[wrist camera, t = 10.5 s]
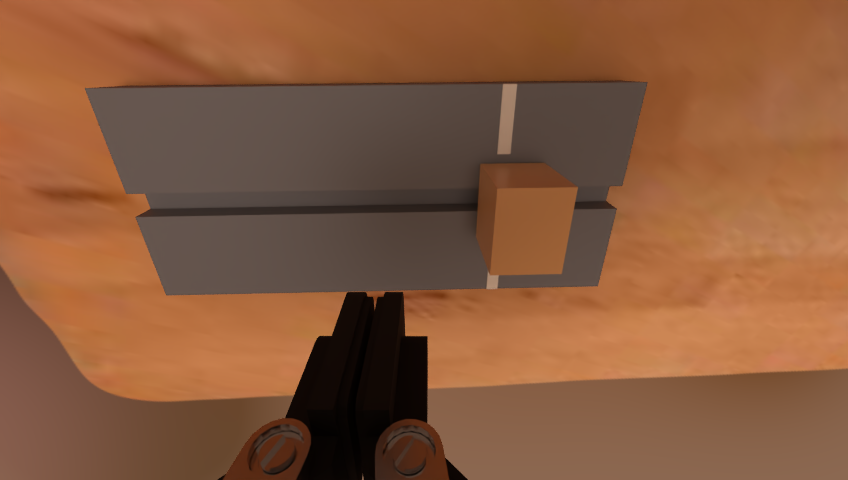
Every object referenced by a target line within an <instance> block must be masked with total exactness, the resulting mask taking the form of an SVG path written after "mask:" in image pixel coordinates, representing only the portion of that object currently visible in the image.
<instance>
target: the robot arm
mask: <svg viewBox="0 0 848 480" xmlns="http://www.w3.org/2000/svg"><path fill="white" fill-rule="evenodd" d="M427 388H428V348H427V336H405V318H404V296H403V292H385V294H384V297H378V298H377V303H376V307H375V310H374V300H373V297H367V293H366V292H348V293H347V294H346V297H345V300H344V303H343V305H342V308H341V311H340V314H339V317H338V320H337V323H336V326H335V329H334V331H333V334H332V336H319V337H318V338H317V340H316V342H315V344H314V347H313V349H312V352H311V354H310V357H309V359H308V362H307V364H306V367H305V369H304V372H303V374H302V377H301V380H300V382H299V385H298V387H297V390H296V392H295V395H294V397H293V400H292V402H291V405H290V407H289V410H288V412H287V415H286V418H282V419H278V420H275V421H272V422H270V423H268V424H266V425H264V426H262V427H261V428H260V429H259V430H257V431H256V432H255V433H254V434H252V436H251V437H250V438H249V439H248V441H247V442H246V443H245V445H244V446H243V448H242V449H241V451H240V453H239V454H238V456H237V457H236V459H235V461H234V462H233V464H232V465H231V467H230V469H229V470H228V472H227V473H226V474H225V475H224V476H222V477H221V478H219V479H218V480H362V475H363V477H364V480H468V479H467V478H465V477H464V476H463V475H462V474H461V473H460V472H459V471H458V470H457V469H456V468H455V467H454V466H453V465H452V464H451V463H450V462H449V461H448V460H447V459H446V458H445V455H444V450H443V445H442V442H441V439H440V436H439V435H438V433H437V432H436V431H435V429H434V428H433V427H431V426H430V425H429V424H427Z"/></svg>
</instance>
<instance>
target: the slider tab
mask: <svg viewBox="0 0 848 480" xmlns="http://www.w3.org/2000/svg"><path fill="white" fill-rule="evenodd" d="M577 190H578V187H577V186H576V185H574V184H573V183H571V182H570V181H569V180H567V179H566V178H565V177H563V176H562V175H561V174H559V173H558V172H556V171H555V170H554V169H552V168H551V167H550V166H548V165H547V164H546V163H496V164H480V178H479V194H478V211H477V227H476V238H477V241H478V244H479V247H480V249H481V252H482V255H483V258H484V260H485V263H486V266H487V269H488V271H489V274H490V275H537V274H562V270H563V264H564V259H565V254H566V248H567V243H568V238H569V232H570V227H571V222H572V216H573V211H574V206H575V200H576V195H577Z"/></svg>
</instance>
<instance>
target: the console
mask: <svg viewBox="0 0 848 480" xmlns="http://www.w3.org/2000/svg"><path fill="white" fill-rule="evenodd" d="M647 83H648V82H635V81H534V82H440V83H347V84H254V85H161V86H115V87H99V88H85V90H86V93H87V95H88V98H89V100H90V103H91V105H92V108H93V111H94V113H95V116H96V118H97V121H98V123H99V126H100V128H101V131H102V133H103V136H104V138H105V141H106V144H107V146H108V149H109V151H110V154H111V156H112V159H113V161H114V164H115V166H116V169H117V171H118V174H119V177H120V179H121V182H122V184H123V187H124V189H125V192H126V194H145V195H146V198H147V200H148V203H149V206H150V208H151V209H150V210H148V211H146V212H144V213H142V214H140V215H138V216H137V217H136V220H137V222H138V225H139V227H140V230H141V232H142V235H143V237H144V240H145V243H146V245H147V248H148V250H149V253H150V255H151V258H152V260H153V263H154V265H155V268H156V270H157V273H158V276H159V278H160V281H161V283H162V286H163V288H164V291H165V293H166V295H205V294H252V293H300V292H347V291H394V290H441V289H497V288H535V287H582V286H598V283H599V279H600V275H601V271H602V267H603V263H604V259H605V255H606V250H607V246H608V242H609V238H610V234H611V230H612V226H613V222H614V218H615V214H616V210H617V209H616V208H615V207H613V206H612V205H611V204H609V203H608V202H606V199H607V194H608V190H609V186H622V185H623V181H624V177H625V173H626V169H627V165H628V160H629V156H630V152H631V148H632V144H633V140H634V136H635V132H636V128H637V124H638V119H639V115H640V111H641V107H642V103H643V99H644V95H645V91H646V87H647ZM496 163H546V164H547V165H548V166H550V167H551V168H552V169H554V170H555V171H556V172H558V173H559V174H561V175H562V176H563V177H565V178H566V179H567V180H569V181H570V182H571V183H573V184H574V185H576V186H577V187H578V190H577V195H576V200H575V206H574V211H573V216H572V222H571V227H570V232H569V238H568V243H567V248H566V254H565V259H564V264H563V270H562V274H537V275H490V274H489V271H488V269H487V266H486V263H485V260H484V258H483V255H482V252H481V249H480V247H479V244H478V241H477V238H476V227H477V211H478V194H479V178H480V164H496Z"/></svg>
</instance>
